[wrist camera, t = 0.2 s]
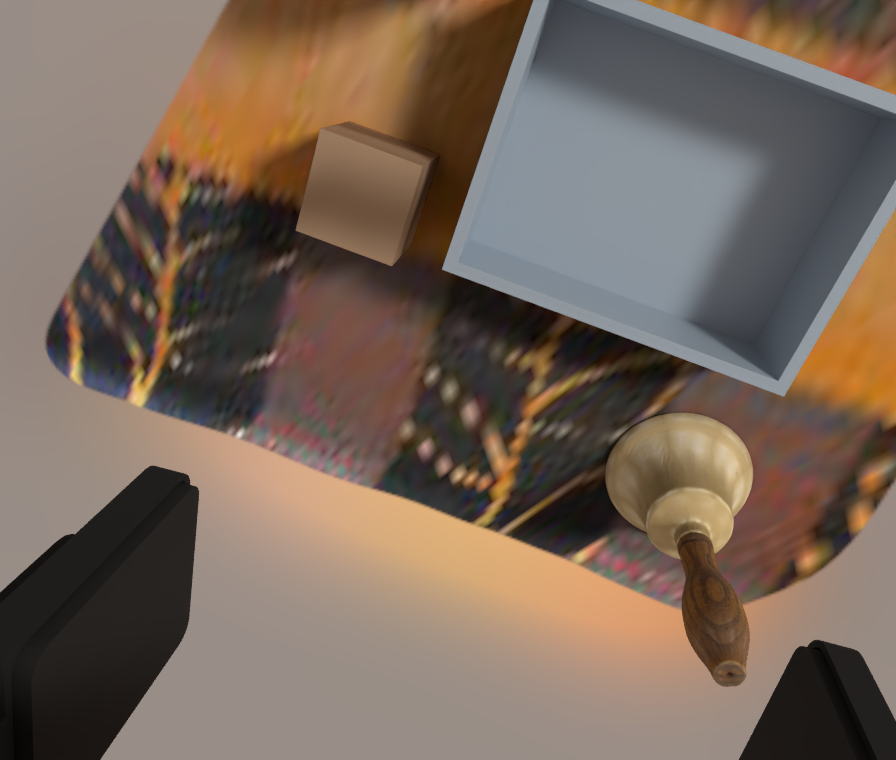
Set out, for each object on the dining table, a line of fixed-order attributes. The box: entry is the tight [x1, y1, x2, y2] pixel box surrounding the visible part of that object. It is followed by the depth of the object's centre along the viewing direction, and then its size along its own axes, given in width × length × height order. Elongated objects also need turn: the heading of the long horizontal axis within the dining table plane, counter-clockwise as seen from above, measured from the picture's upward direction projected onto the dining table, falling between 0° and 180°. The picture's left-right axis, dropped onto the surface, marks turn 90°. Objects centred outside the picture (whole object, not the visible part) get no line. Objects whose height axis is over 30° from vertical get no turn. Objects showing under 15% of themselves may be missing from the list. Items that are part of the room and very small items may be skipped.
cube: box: [296, 121, 440, 266], centre depth 37 cm, size 5×5×5 cm
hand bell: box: [605, 412, 753, 687], centre depth 36 cm, size 8×8×16 cm
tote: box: [442, 0, 896, 396], centre depth 35 cm, size 13×17×6 cm
